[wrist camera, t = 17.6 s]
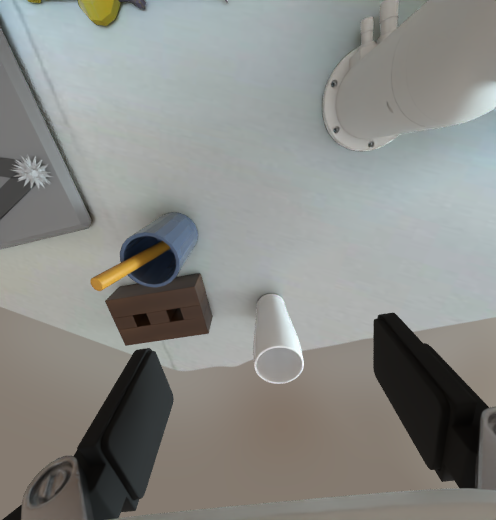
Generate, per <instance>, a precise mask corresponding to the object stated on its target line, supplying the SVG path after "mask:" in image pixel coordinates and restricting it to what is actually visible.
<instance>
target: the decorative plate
mask: <svg viewBox="0 0 496 520" xmlns="http://www.w3.org/2000/svg"><path fill="white" fill-rule="evenodd" d="M91 221H92V220H91V218H90V216H89V214H88V211H87V209H86V207H85V205H84V203H83V201H82V199H81V197H80V194H79V192H78V190H77V188H76V186H75V184H74V182H73V180H72V177H71V175H70V173H69V171H68V169H67V167H66V165H65V163H64V160H63V158H62V156H61V154H60V152H59V150H58V148H57V146H56V143H55V141H54V139H53V137H52V135H51V133H50V131H49V129H48V126H47V124H46V122H45V120H44V118H43V116H42V114H41V112H40V109H39V107H38V105H37V103H36V101H35V99H34V97H33V95H32V92H31V90H30V88H29V86H28V84H27V82H26V80H25V78H24V75H23V73H22V71H21V69H20V67H19V65H18V63H17V61H16V59H15V56H14V54H13V52H12V50H11V48H10V46H9V44H8V42H7V39H6V37H5V35H4V33H3V31H2V29H1V27H0V249H4V248H8V247H12V246H16V245H20V244H25V243H29V242H33V241H37V240H41V239H45V238H50V237H54V236H58V235H62V234H66V233H71V232H75V231H79V230H83V229H87V228H89V226H90V224H91Z"/></svg>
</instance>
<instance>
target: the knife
mask: <svg viewBox="0 0 496 520" xmlns="http://www.w3.org/2000/svg"><path fill="white" fill-rule="evenodd" d="M27 1H29V2H33V3H41V0H27ZM128 1H130V2H131V3H133V4H134V5H135V6H137V7H139V8H142V9H144V8H145V5H146V2H145V0H78V3H79V6H80V8H81V9H82V10H83V12H84V13H85V14H86V15H87V16H88V17H89V19H90V20H91V21H93V22H94V23H95V24H96V25H102V26H107V25H108V24H110V23H111V22H112V21H113V20H114V19H116V16H117V13H118V10H119V7H120V2H128ZM225 1H226V2H227V0H225ZM227 3H228V2H227Z"/></svg>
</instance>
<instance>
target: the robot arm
mask: <svg viewBox="0 0 496 520" xmlns="http://www.w3.org/2000/svg"><path fill="white" fill-rule="evenodd" d="M398 7H399V0H384V1H383V2H382V3H381V4H380V37H379V38H378V39H377V42H375V41H373V17H367V18H365V19H363V20H362V21H361V22H360V23H361V45H360V46H359V47H358V48H356V49H355V50H353V51H352V52H350V53H349V54H348V55H347V56H346V57H345V58H343V59H342V60H341V62H340V63H339V64H338V65H337V66H336V68H335V69H334V71H333V72H332V74H331V75H330V77H329V80H328V82H327V84H326V87H325V91H324V95H323V102H322V112H323V119H324V123H325V126H326V128H327V130H328V133H329V134H330V135H331V137H332V138H333V139H334V140H335V141H336V142H337V143H338V144H339V145H341V146H343V147H345V148H346V149H350V150H353V151H370V150H374V149H378V148H380V147H382V146H384V145H386V144H388V143H389V142H391V141H392V140H394V139H395V138H396V137H397V136H398V135H399V134H404V133H410V132H417V131H423V130H430V129H436V128H442V127H447V126H453V125H458V124H462V123H466V122H469V121H471V120H474V119H476V118H479V117H481V116H483V115H485V114H486V113H488V112H490V111H491V110H493V109H494V108H496V0H428V1H427V2H426V3H425V4H424V5H423V6H421V7H420V8H419V9H418V10H417V11H416V12H415V13H414V14H412V15H411V16H410V17H409V18H408V19H407V20H406V21H404V22H403V23H402V24H401V25H400V26H399V27H398V28H397V18H398ZM331 83H333V84H334V87H332V86H331ZM334 128H335V129H336V132H334V131H333V129H334ZM368 143H370V146H368ZM374 373H375V376H376V378H377V380H378V382H379V383H380V385H381V387H382V388H383V390H384V392H385V394H386V396H387V397H388V399H389V401H390V403H391V404H392V406H393V408H394V409H395V411H396V413H397V415H398V416H399V418H400V420H401V422H402V423H403V425H404V427H405V428H406V430H407V432H408V434H409V436H410V437H411V439H412V441H413V443H414V444H415V446H416V448H417V450H418V451H419V453H420V455H421V456H422V458H423V460H424V461H425V464H426V465H427V467H428V468H429V469H430V470H435V471H436V473H437V475H438V476H439V478H440V479H441V481H442V482H443V481H453V480H455V482H456V483H457V485H458V487H459V488H460V489H430V490H416V491H401V492H386V493H375V494H364V495H353V496H341V497H329V498H318V499H306V500H297V501H296V500H295V501H284V502H274V503H263V504H253V505H242V506H231V507H221V508H210V509H201V510H190V511H180V512H170V513H162V514H161V513H160V514H151V515H142V516H134V517H126V518H119V515H120V513H121V512H127V511H135V510H136V508H137V505H138V501H139V499H141V498H142V497H143V496H144V493H145V491H146V488H147V485H148V481H149V478H150V475H151V472H152V469H153V465H154V462H155V459H156V455H157V453H158V449H159V446H160V443H161V440H162V437H163V433H164V430H165V427H166V424H167V421H168V418H169V414H170V411H171V408H172V405H173V394H172V391H171V389H170V387H169V384H168V381H167V379H166V376H165V374H164V372H163V369H162V367H161V364H160V362H159V359H158V357H157V354H156V352H155V351H152V350H151V349H150V348H147V349H140V350H136V351H135V352H134V353H133V355H132V357H131V358H130V360H129V362H128V363H127V365H126V367H125V368H124V370H123V372H122V373H121V375H120V377H119V378H118V380H117V382H116V383H115V385H114V387H113V388H112V390H111V392H110V394H109V395H108V397H107V399H106V400H105V402H104V404H103V405H102V407H101V409H100V410H99V412H98V414H97V415H96V417H95V419H94V420H93V422H92V424H91V426H90V427H89V429H88V430H87V432H86V434H85V436H84V437H83V439H82V441H81V442H80V444H79V446H78V448H77V449H78V450H77V451H76V453H75V455H74V456H64V457H61V458H58V459H56V460H55V461H53V462H51V463H50V464H48V465H47V466H46V467H45V468H43V469H42V470H41V471H40V472H39V473H38V474H37V475H36V476H35V478H34V479H33V480H32V482H31V483H30V484H29V486H28V487H27V489H26V491H25V494H24V496H23V500H22V505H20V506H19V507H18V508H17V509H15V510H14V511H13V512H12V513H10V514H9V515H8V516H7V517H5V518H4V519H3V520H496V407H491V408H489V407H488V406H487V405H486V404H485V403H484V402H483V401H482V400H481V399H480V397H479V396H478V395H477V394H476V393H475V392H474V391H473V390H472V389H471V388H470V387H469V386H468V385H467V384H466V383H465V382H464V381H463V380H462V379H461V378H460V377H459V376H458V375H457V373H456V372H455V371H454V370H452V368H451V367H450V366H449V365H448V364H447V363H446V362H445V361H444V360H443V359H442V358H441V357H440V356H439V355H438V354H437V353H436V351H435V350H434V349H433V348H432V347H431V346H429V345H428V344H425V343H424V344H423V343H422V342H421V341H420V340H419V338H418V337H417V336H416V335H415V334H414V333H413V332H412V331H411V330H410V329H409V328H408V327H407V326H406V324H405V323H404V322H403V321H402V320H401V319H400V318H399V317H398V316H397V315H396V314H395V313H388V314H381V315H378V319H374Z"/></svg>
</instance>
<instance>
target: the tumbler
mask: <svg viewBox="0 0 496 520" xmlns="http://www.w3.org/2000/svg"><path fill="white" fill-rule="evenodd" d="M197 240H198V232H197V228H196V226H195V224H194V223H193V221H192V220H191V219H190V218H189V217H187V216H186V215H184V214H181V213H177V212H171V213H166V214H164V215H162V216H161V217H159V218H158V219H156V220H155V221H153V222H152V223H150V224H149V225H147V226H146V227H144V228H142V229H141V230H139V231H138V232H136V233H135V234H133V235H132V236H130V237H129V238H128V239H127V240H126V241H125V242H124V243H123V245H122V248H121V251H120V262H123V261H125V260H127V259H129V258H131V257H133V256H135V255H136V254H138V253H140V252H142V251H144V250H146V249H148V248H150V247H152V246H153V245H155V244H157V243H159V242H161V241H163V242H165V243H166V244H167V245H168V246H169V247H170V248H171V249H169V250H168V251H166V252H164V253H163V254H161V255H159V256H158V257H156V258H154V259H153V260H151V261H149V262H148V263H146V264H144V265H143V266H141V267H139V268H138V269H136V270H134V271H133V272H131V273H130V274H128V276H129V277H130V278H131V279H132V280H134V281H135V282H137V283H138V284H141V285H143V286H146V287H161V286H165V285H167V284H168V283H170V282H172V281H173V279H174V278H175V277H176V276H177V274H178V273H179V271H180V270H181V268H182V266H183V265H184V263H185V262H186V260H187V258H188V257H189V255H190V253H191V252H192V250H193V249H194V247H195V245H196V243H197Z"/></svg>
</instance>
